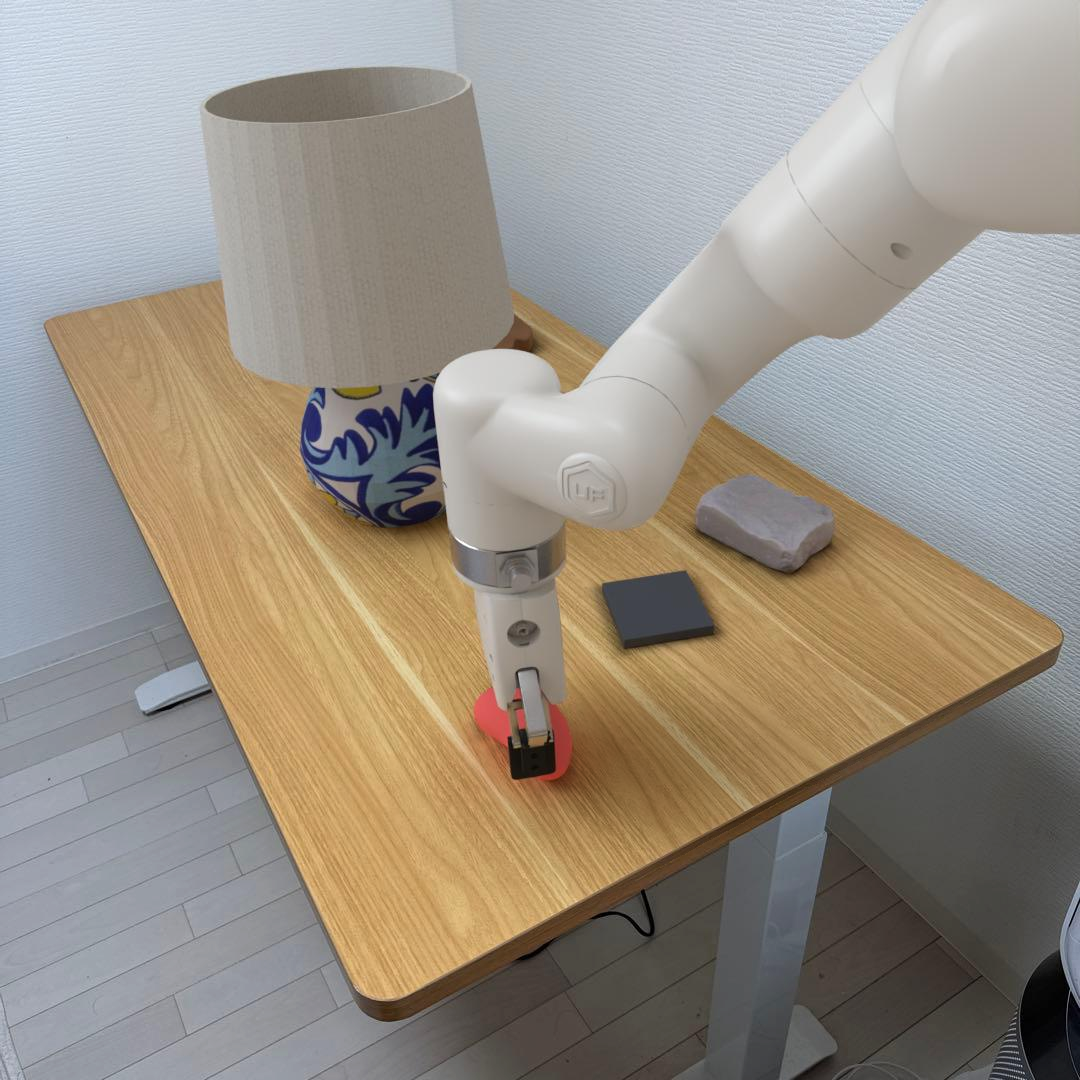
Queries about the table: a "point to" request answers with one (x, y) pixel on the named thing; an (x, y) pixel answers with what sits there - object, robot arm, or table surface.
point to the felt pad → (656, 609)
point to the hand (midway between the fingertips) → (521, 724)
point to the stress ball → (499, 727)
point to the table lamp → (358, 264)
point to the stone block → (765, 521)
